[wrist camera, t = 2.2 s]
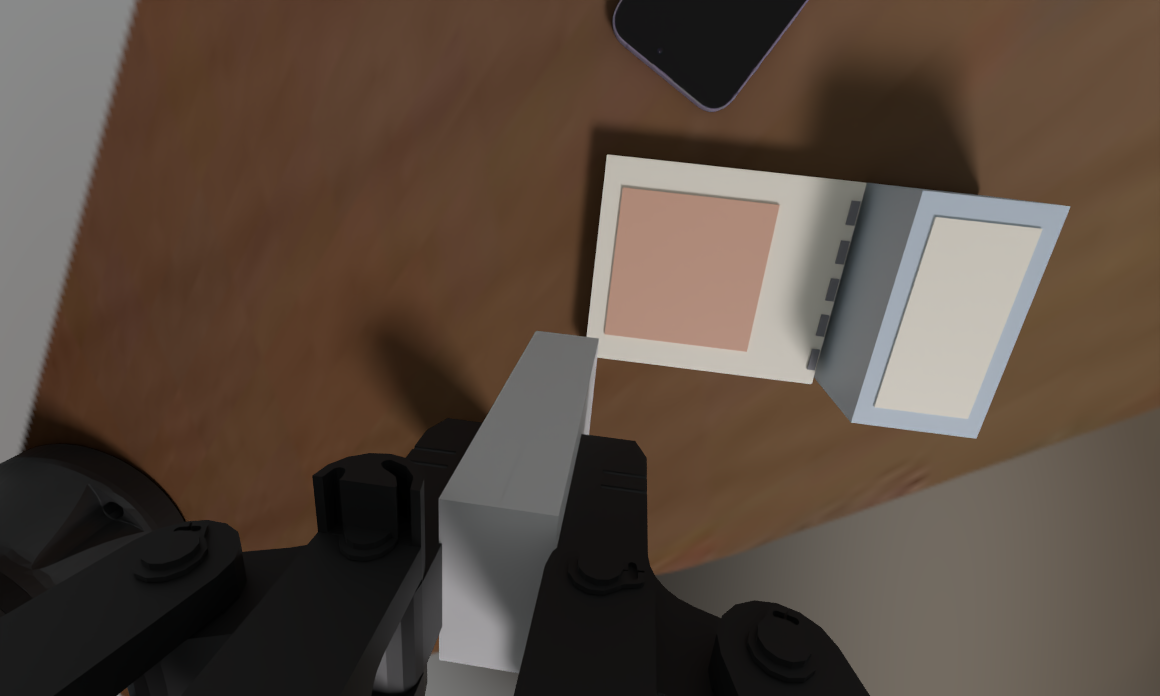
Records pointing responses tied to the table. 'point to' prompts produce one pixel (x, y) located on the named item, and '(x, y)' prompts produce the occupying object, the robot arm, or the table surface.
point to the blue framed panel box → (932, 305)
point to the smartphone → (704, 41)
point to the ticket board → (718, 266)
